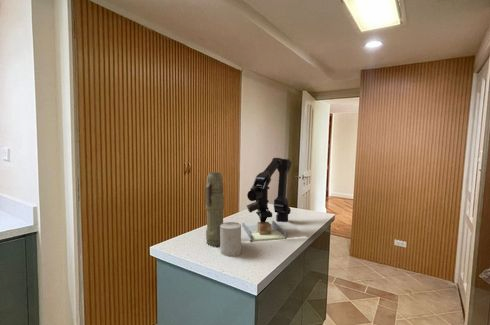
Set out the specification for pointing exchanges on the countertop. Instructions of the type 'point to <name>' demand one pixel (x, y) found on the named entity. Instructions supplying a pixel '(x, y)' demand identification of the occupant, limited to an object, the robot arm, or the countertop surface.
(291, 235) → the countertop surface
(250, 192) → the robot arm
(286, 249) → the countertop surface
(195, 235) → the countertop surface
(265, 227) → the walnut block
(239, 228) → the grey concrete cylinder
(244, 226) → the board
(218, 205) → the thermos
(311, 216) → the countertop surface
